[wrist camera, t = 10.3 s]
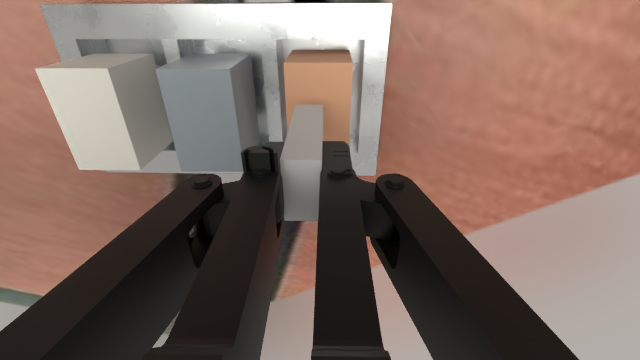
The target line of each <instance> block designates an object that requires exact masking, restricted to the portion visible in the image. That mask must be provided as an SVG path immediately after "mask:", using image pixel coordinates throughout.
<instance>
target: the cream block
mask: <svg viewBox="0 0 640 360" xmlns="http://www.w3.org/2000/svg"><path fill="white" fill-rule="evenodd" d="M155 69H156V64H155V60H154V56H153V54H91V55H87V56H83V57H78V58H74V59H70V60H66V61H62V62H58V63H54V64H50V65H46V66H42V67H38V68H35V70H36V73H37V75H38V77H39V79H40V82H41V84H42V86H43V89H44V91H45V93H46V95H47V98H48V100H49V102H50V105H51V107H52V109H53V111H54V114H55V116H56V118H57V121H58V123H59V125H60V127H61V130H62V132H63V134H64V137H65V139H66V141H67V143H68V146H69V148H70V150H71V153H72V155H73V157H74V159H75V162H76V164H77V166H78V168H79V170H142V169H143V168H144V167H145V166H146V165H147V164H148V163H149V162H151V161H152V160H153V159H154V158H155V157H156V156H157V155H158V154H159V153H160V152H161V151H163V150H164V149H165V148H166V147H167V146H168V145H169V144H170V143H171V142H172V141H173V137H172V133H171V129H170V125H169V121H168V117H167V113H166V109H165V105H164V102H163V98H162V94H161V90H160V86H159V82H158V78H157V74H156V70H155Z"/></svg>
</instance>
